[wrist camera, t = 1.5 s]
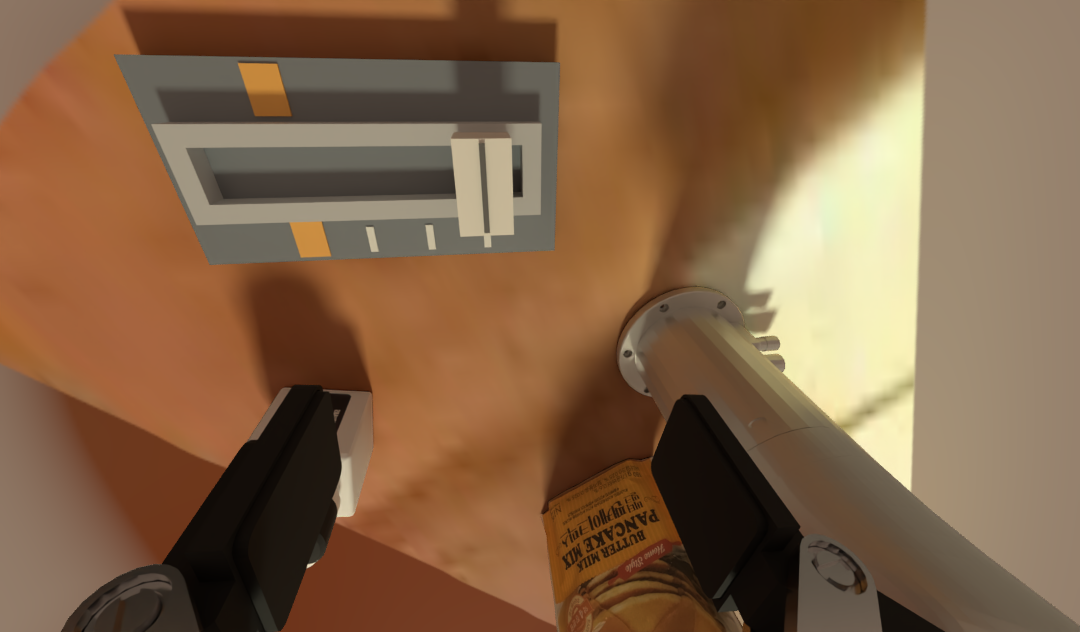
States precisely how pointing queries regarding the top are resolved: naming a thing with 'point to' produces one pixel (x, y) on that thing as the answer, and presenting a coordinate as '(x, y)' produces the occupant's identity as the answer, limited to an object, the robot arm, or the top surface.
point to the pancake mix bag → (623, 559)
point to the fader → (483, 182)
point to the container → (354, 451)
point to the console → (344, 151)
